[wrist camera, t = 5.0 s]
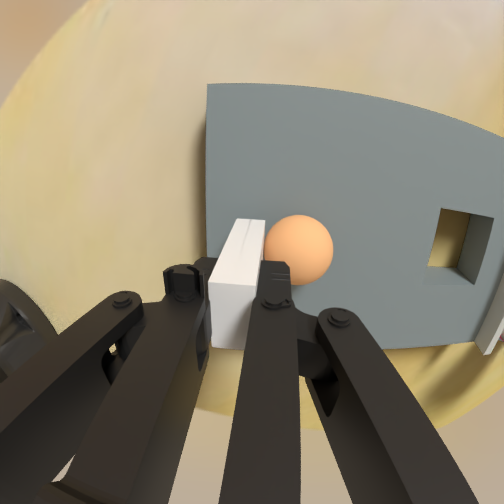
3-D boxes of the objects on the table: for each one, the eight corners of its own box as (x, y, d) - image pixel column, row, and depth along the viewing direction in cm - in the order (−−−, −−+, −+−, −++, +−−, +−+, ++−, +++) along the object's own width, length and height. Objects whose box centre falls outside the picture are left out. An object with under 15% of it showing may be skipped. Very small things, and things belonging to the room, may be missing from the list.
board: (218, 318, 23) (206, 362, 18) (218, 91, 16) (197, 77, 11) (467, 321, 21) (490, 353, 17) (513, 148, 14) (552, 159, 10)
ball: (261, 264, 17) (261, 297, 14) (264, 205, 16) (266, 226, 12) (321, 266, 17) (334, 299, 14) (329, 209, 16) (346, 230, 12)
